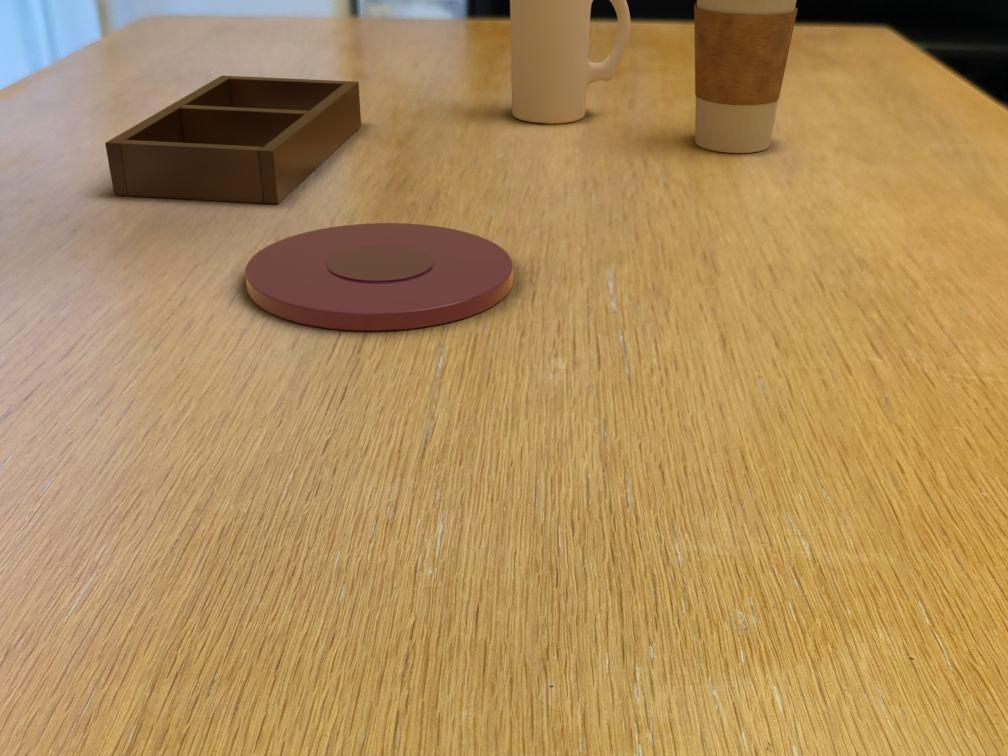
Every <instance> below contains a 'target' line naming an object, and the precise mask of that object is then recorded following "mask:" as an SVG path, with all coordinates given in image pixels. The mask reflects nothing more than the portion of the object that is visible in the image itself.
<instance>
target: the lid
mask: <svg viewBox="0 0 1008 756" xmlns="http://www.w3.org/2000/svg"><path fill="white" fill-rule="evenodd" d="M244 276H245V285H246V291H247V294H248V296H249V298H250V299H251V300H252V302H253V303H254V304H255V305H256V306H258V307H259V308H260V309H262V310H264V311H265V312H267V313H269V314H272V315H274V316H276V317H278V318H281V319H283V320H287V321H290V322H293V323H297V324H300V325H307V326H311V327H315V328H324V329H331V330H332V329H333V330H339V331H340V330H342V331H358V332H359V331H361V332H382V331H383V332H384V331H401V330H411V329H420V328H426V327H432V326H439V325H443V324H447V323H451V322H455V321H460V320H463V319H466V318H469V317H472V316H474V315H477V314H479V313H482V312H484V311H486V310H488V309H490V308H491V307H494V306H495V305H496V304H498V303H499V302H501V301H502V300H503V299H504V298H505V297H506V296H507V295H508V294H509V292H510V291H511V289H512V287H513V283H514V264H513V260H512V258H511V256H510V254H509V253H508V252H507V251H506V250H505V249H504V248H502V247H501V246H500V245H498V244H497V243H495V242H493V241H491V240H489V239H488V238H484V237H481V236H480V235H477V234H474V233H470V232H467V231H463V230H460V229H454V228H450V227H443V226H437V225H429V224H421V223H420V224H418V223H403V222H396V223H395V222H376V223H375V222H373V223H371V222H370V223H357V224H346V225H345V224H344V225H338V226H329V227H325V228H319V229H313V230H310V231H306V232H302V233H298V234H294V235H290V236H288V237H285V238H283V239H280V240H277V241H275V242H273V243H270V244H268V245H266V246H265V247H263V248H262V249H260V250H258V251H257V252H255V254H254V255H253V256H252V257H251V258H250V259H249V260H248V262H247V263H246V267H245V269H244Z"/></svg>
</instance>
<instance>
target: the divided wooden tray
mask: <svg viewBox="0 0 1008 756" xmlns="http://www.w3.org/2000/svg"><path fill="white" fill-rule="evenodd" d="M361 127H362V116H361V100H360V82H359V81H355V80H354V81H353V80H352V81H351V80H350V81H349V80H329V79H309V78H308V79H307V78H284V77H264V76H241V75H240V76H239V75H220V76H218V77H216V78H215V79H213V80H211V81H209V82H208V83H206V84H204V85H203V86H201V87H199V88H197V89H195V90H194V91H193V92H190V93H189V94H187V95H185V96H183V97H182V98H180V99H179V100H177V101H175V102H173V103H171V104H170V105H167V106H166V107H164V108H162V109H161V110H159V111H157V112H156V113H154V114H152V115H151V116H149V117H147V118H146V119H144V120H142V121H140V122H138V123H137V124H135V125H134V126H132V127H130V128H129V129H126V130H125V131H123V132H121V133H119V134H118V135H116V136H114V137H113V138H111V139H109V140H108V141H106V142H104V144H105V151H106V157H107V162H108V167H109V168H108V169H109V174H110V179H111V186H112V191H113V195H114V196H124V197H144V198H159V199H160V198H162V199H177V200H179V199H180V200H195V201H196V200H197V201H213V202H232V203H252V204H268V205H270V204H271V205H278V204H279V203H280V202H282V201H283V200H284V199H285V198H286V197H287V196H288V195H289V194H290V193H292V192H293V191H294V189H296V188H297V187H298V186H299V185H300V184H301V183H302V182H303V181H304V180H305V179H306V178H307V177H308V176H309V175H311V174H312V173H313V172H314V171H315V170H316V169H317V168H318V167H319V166H320V165H321V164H322V163H324V162H325V160H327V159H328V158H329V157H330V156H331V155H332V154H333V153H334V152H335V151H336V150H337V149H339V147H341V145H343V144H344V143H345V142H346V141H347V140H348V139H349V138H350V137H351V136H352V135H353V134H354V133H355V132H357V131H358V130H359V129H360V128H361Z"/></svg>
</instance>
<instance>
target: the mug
mask: <svg viewBox="0 0 1008 756" xmlns="http://www.w3.org/2000/svg"><path fill="white" fill-rule="evenodd" d="M608 1H609V2H610V3H611V4H612V6H613V8H614V11H615V13H616V18H617V19H616V20H617V29H616V30H617V31H616V36H615V40H614V44H613V45H612V49H611V50H610V52H609V53H608V55H607V56H606V57H605V59H604V60H603V61H601V62H593V61H591V60H590V59H589V47H590V26H591V13H592V12H591V11H592V3H593V2H594V0H509V16H510V18H509V19H510V22H509V24H510V69H511V70H510V77H511V79H510V82H511V113H512V116H513V117H514V118H515V119H518V120H520V121H524V122H529V123H535V124H549V125H550V124H568V123H573V122H577V121H579V120H582V119H583V118H584V117H585V114H586V103H587V89H588V87H589V85H591V84H592V83H595V82H598V81H604V82H610V81H613V79H614V78H615V75H616V73H617V70H618V68H619V65H620V63H621V61H622V58H623V55H624V53H625V51H626V49H627V45H628V42H629V38H630V33H631V14H630V9H629V8H630V7H629V5H628V2H627V0H608Z"/></svg>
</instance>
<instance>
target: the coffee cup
mask: <svg viewBox="0 0 1008 756" xmlns="http://www.w3.org/2000/svg"><path fill="white" fill-rule="evenodd" d="M796 5H797V0H696V3H695V4H694V5H693V13H694V15H693V16H694V24H693V25H694V95H695V113H694V115H695V119H694V121H695V122H694V123H695V125H694V137H695V138H694V141H695V144H696V145H697V146H698V147H700V148H702V149H704V150H705V149H706V150H709V151H712V152H717V153H718V152H719V153H726V154H727V153H728V154H750V153H758V152H762V151H765V150H767V149H768V148H769V147H770V145H771V142H772V136H773V130H774V125H775V119H776V113H777V109H778V103H779V99H780V95H781V91H782V85H783V82H784V77H785V72H786V68H787V61H788V57H789V52H790V49H791V43H792V38H793V33H794V28H795V24H796V18H797V15H798V7H796Z"/></svg>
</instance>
